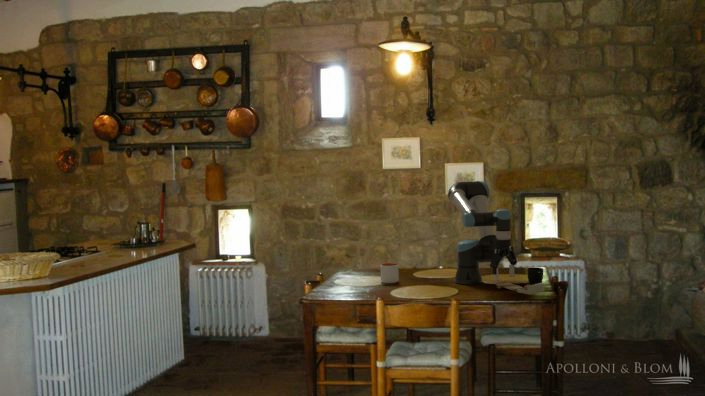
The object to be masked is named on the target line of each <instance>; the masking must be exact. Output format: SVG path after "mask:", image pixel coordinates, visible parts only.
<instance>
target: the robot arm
mask: <svg viewBox="0 0 705 396" xmlns="http://www.w3.org/2000/svg"><path fill="white" fill-rule="evenodd" d="M447 197H448V200H449V201H450V202H451V204H452V205H454V206H455V207H456V209H458V211H459V213H460V214H461V215H462V217H461V221H462V226H463V227H466V228H474V227H477V232H478V235H479V239H477V238H476V239H475V238H474V239H465V240H461V241H459V242H458V243H457V249H456V253H457V254H456V255H457V258H456V259H457V269H456V272H455V276H454V283H456V284H458V285H459V284H460V285H480V284H482V283H483V277H482V273H481V271H480V264H481V263H482V264H483V263H484V264H485V263H490V265H489V267H490V268H491V269H492V275H493V279H492V280H493V281H496V282H498V281H499V268H498V267H499V266H500V262H502V261H504V259H505V257H506V260H507V261H508V263H509V265H508V266H509V267H508V269H509V270H508V271H509V275H508V277H509V278H515V266H516V265H517V263H518V259H517V256H516V254H515V250H514V246H512V242H511V241H512V240H511V239H512V238H511V237H512V236H511V235H512V234H511V233H512V232H511V229H512V228H511V222H512V221H511V217H512V216H511V211H510V210H509V209H505V208H504V209H502V208H501V209H497V210H496V211H494V210H493V211H489V209H488V208H489V207H488V205H487V203H488V200H489V199H490V188H489V185H488V184H487V182H485V181H483V180H481V181H480V180H476V181H457V182H455V183H453V184H452V185H451V186H450V188H449V189H448V193H447ZM494 227H495V228H494Z"/></svg>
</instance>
